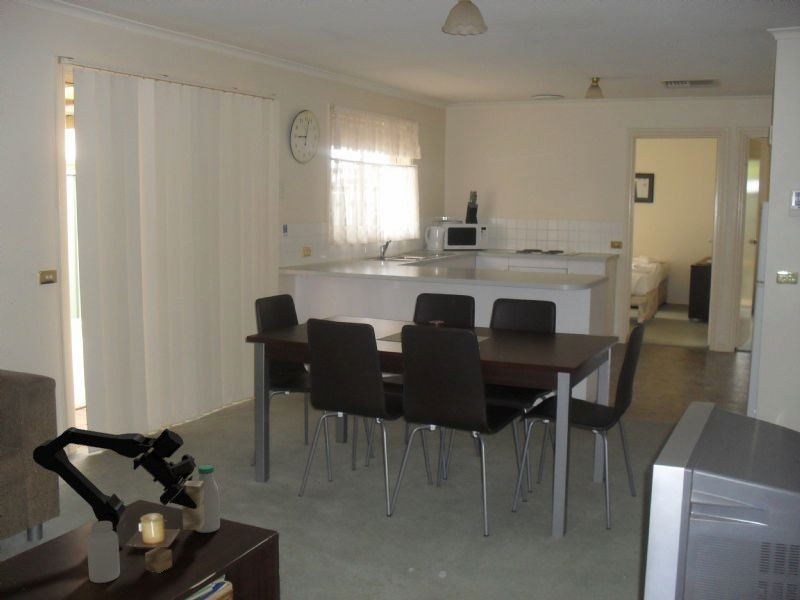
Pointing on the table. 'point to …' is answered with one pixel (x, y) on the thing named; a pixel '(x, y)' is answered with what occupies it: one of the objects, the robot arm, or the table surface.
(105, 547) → the pill bottle
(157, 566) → the oak cube
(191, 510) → the maple block
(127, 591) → the table surface
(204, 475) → the milk bottle
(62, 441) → the robot arm
